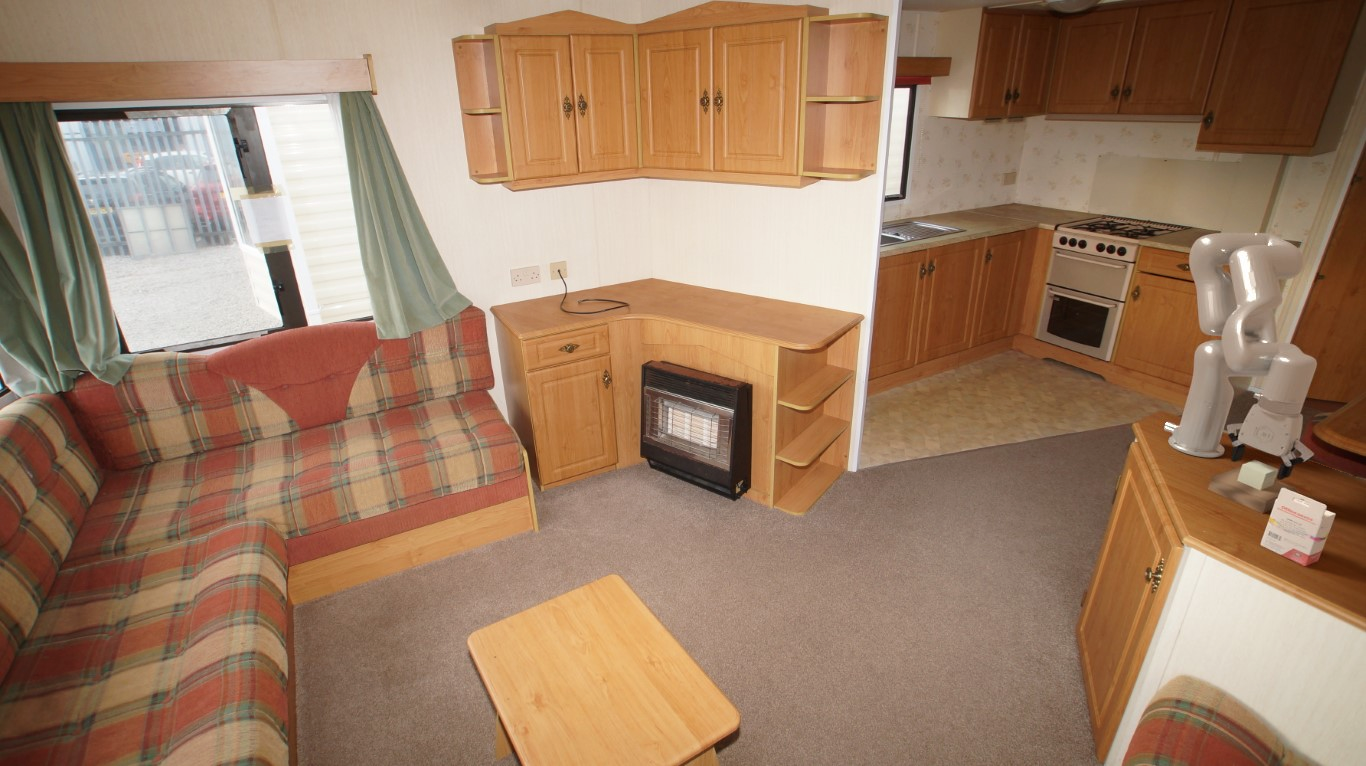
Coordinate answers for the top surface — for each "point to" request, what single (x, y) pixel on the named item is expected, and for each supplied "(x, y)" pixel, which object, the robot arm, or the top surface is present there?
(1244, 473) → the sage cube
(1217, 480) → the walnut block
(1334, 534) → the top surface
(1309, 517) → the ink cartridge box
